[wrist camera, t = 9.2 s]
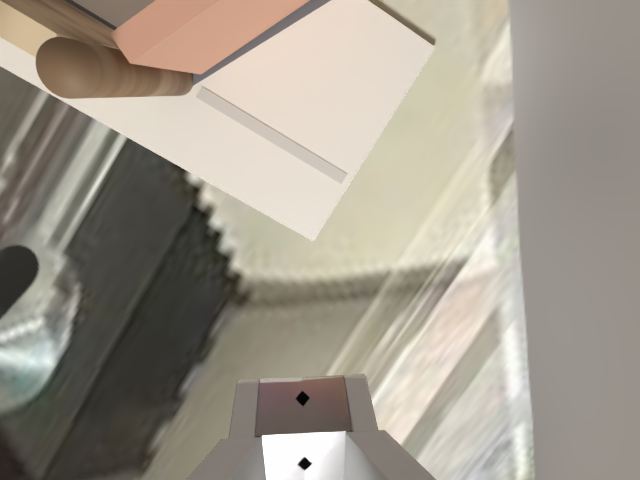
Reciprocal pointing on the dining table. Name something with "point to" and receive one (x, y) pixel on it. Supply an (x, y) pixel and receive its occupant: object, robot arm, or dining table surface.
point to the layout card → (271, 105)
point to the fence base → (81, 53)
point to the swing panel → (196, 31)
